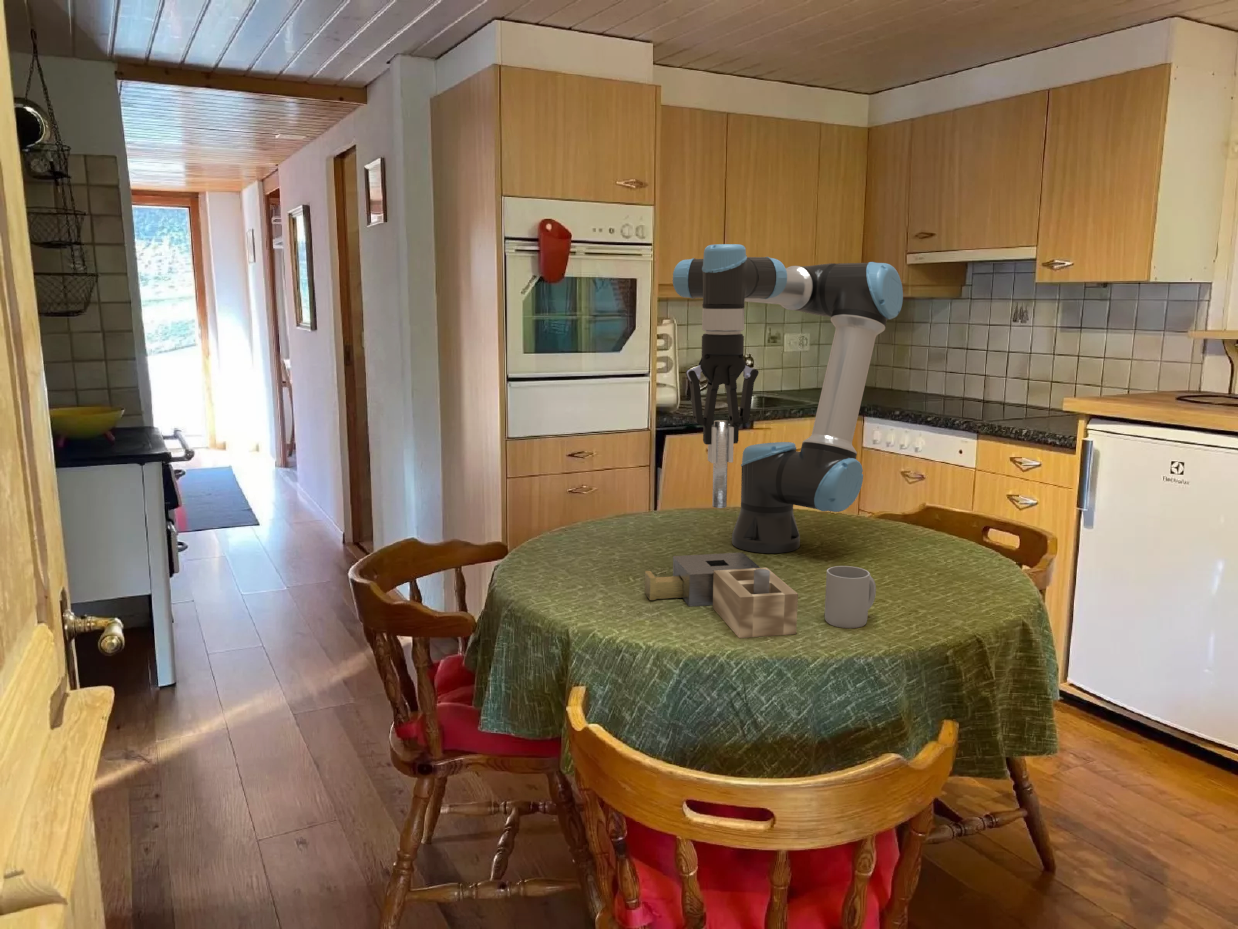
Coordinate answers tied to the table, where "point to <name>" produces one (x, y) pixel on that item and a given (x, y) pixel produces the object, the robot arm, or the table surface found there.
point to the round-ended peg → (720, 465)
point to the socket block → (705, 573)
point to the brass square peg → (663, 586)
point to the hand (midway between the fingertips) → (720, 461)
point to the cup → (848, 596)
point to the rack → (755, 602)
